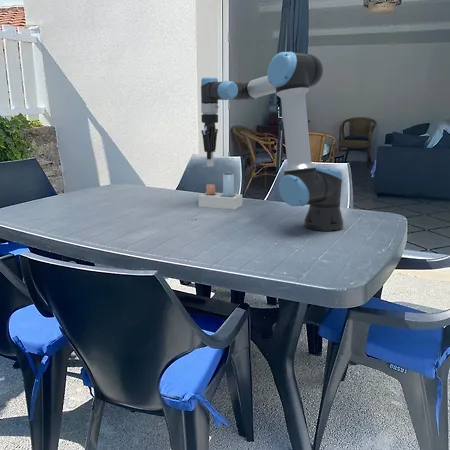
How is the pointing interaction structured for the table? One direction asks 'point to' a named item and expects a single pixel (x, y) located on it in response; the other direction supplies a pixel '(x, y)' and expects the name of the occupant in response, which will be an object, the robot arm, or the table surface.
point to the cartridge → (228, 184)
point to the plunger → (210, 189)
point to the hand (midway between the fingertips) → (210, 166)
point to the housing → (220, 201)
